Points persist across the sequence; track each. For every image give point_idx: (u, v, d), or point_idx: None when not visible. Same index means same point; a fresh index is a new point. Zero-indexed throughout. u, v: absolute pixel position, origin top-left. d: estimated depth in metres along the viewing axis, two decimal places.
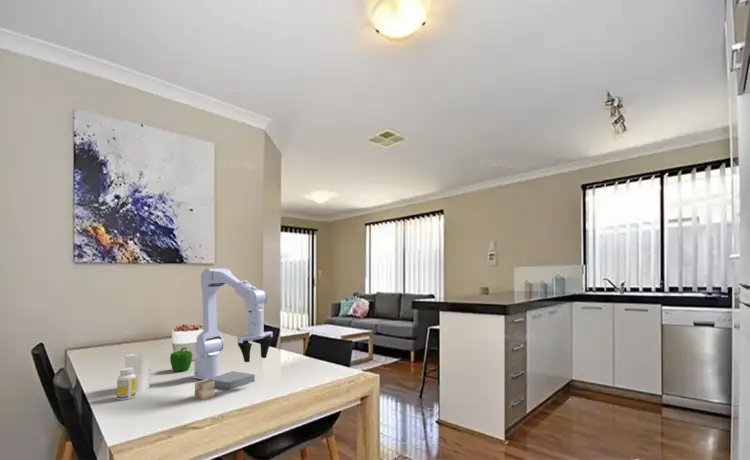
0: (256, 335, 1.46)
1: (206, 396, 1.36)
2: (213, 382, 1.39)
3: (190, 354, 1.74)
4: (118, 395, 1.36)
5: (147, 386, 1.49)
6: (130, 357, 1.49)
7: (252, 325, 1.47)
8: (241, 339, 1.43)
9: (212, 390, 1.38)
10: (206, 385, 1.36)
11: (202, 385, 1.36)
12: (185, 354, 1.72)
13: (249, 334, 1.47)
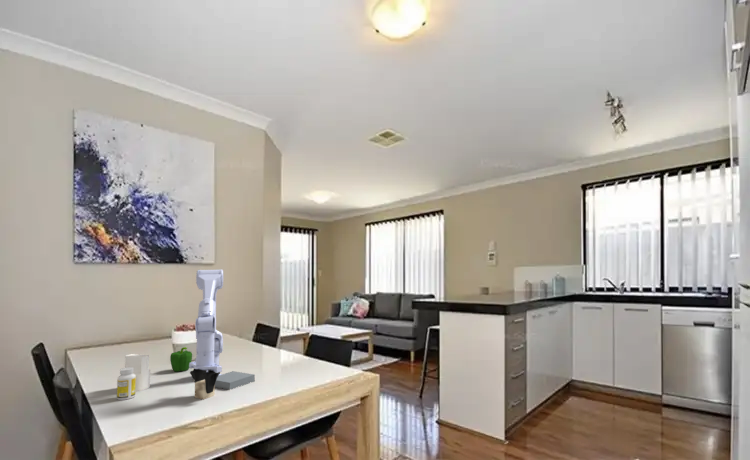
0: (195, 365, 1.37)
1: (206, 396, 1.36)
2: None
3: (190, 354, 1.74)
4: (118, 395, 1.36)
5: (147, 386, 1.49)
6: (130, 357, 1.49)
7: None
8: (189, 364, 1.41)
9: None
10: None
11: (202, 385, 1.36)
12: (185, 354, 1.72)
13: None
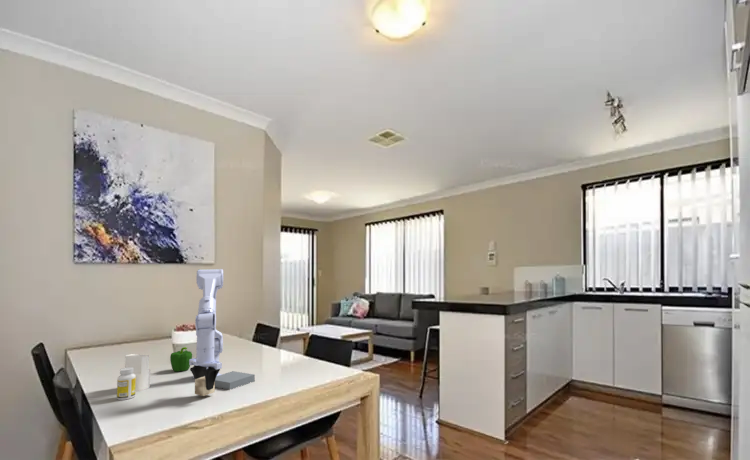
0: (196, 361, 1.38)
1: (206, 392, 1.36)
2: None
3: (190, 354, 1.74)
4: (118, 395, 1.36)
5: (147, 386, 1.49)
6: (130, 357, 1.49)
7: None
8: (189, 361, 1.41)
9: None
10: None
11: (202, 381, 1.36)
12: (185, 354, 1.72)
13: None
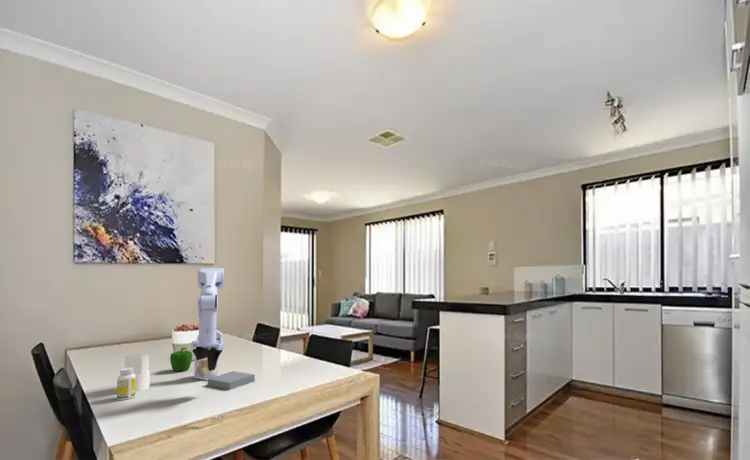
0: (198, 343, 1.39)
1: (208, 373, 1.38)
2: None
3: (190, 354, 1.74)
4: (118, 395, 1.36)
5: (147, 386, 1.49)
6: (130, 357, 1.49)
7: None
8: (192, 343, 1.43)
9: None
10: None
11: (204, 362, 1.37)
12: (185, 354, 1.72)
13: None
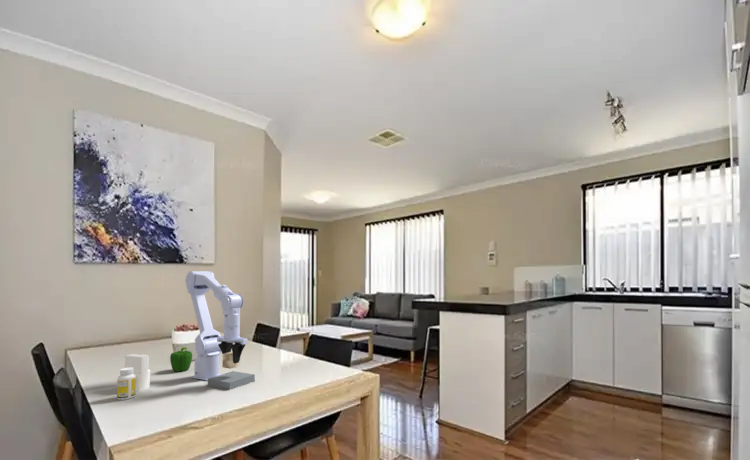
0: (223, 338, 1.53)
1: (233, 366, 1.51)
2: None
3: (190, 354, 1.74)
4: (118, 395, 1.36)
5: (147, 386, 1.49)
6: (130, 357, 1.49)
7: None
8: (217, 338, 1.57)
9: None
10: (232, 355, 1.52)
11: (229, 356, 1.51)
12: (185, 354, 1.72)
13: None
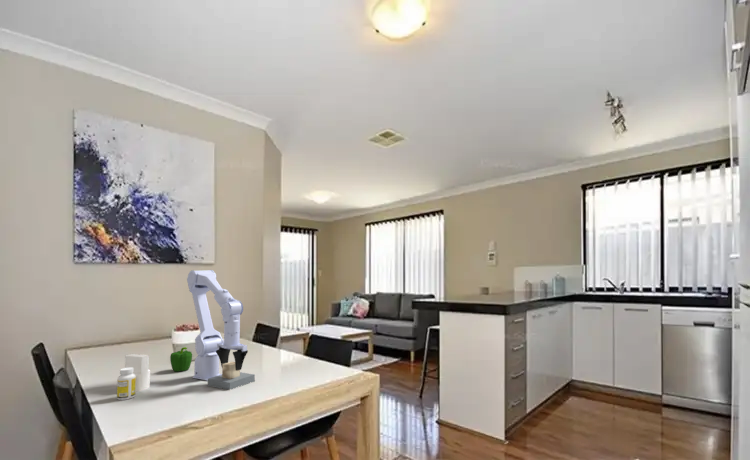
0: (223, 345, 1.53)
1: (233, 376, 1.51)
2: None
3: (190, 354, 1.74)
4: (118, 395, 1.36)
5: (147, 386, 1.49)
6: (130, 357, 1.49)
7: None
8: (217, 345, 1.57)
9: None
10: (232, 365, 1.51)
11: (229, 366, 1.51)
12: (185, 354, 1.72)
13: None
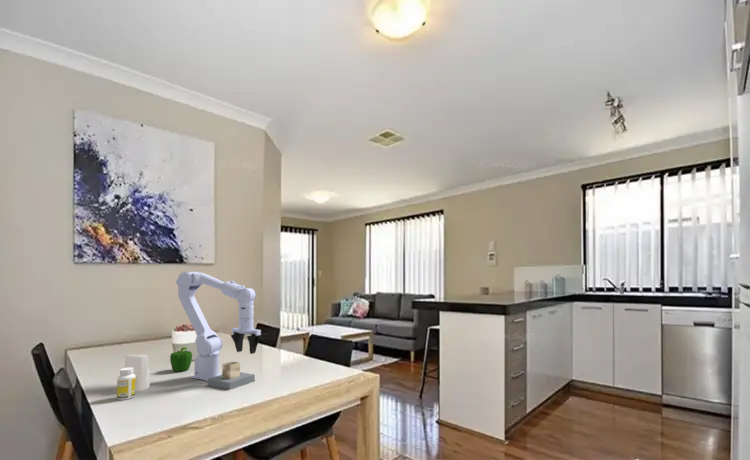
0: (238, 329, 1.60)
1: (233, 376, 1.51)
2: (238, 364, 1.54)
3: (190, 354, 1.74)
4: (118, 395, 1.36)
5: (147, 386, 1.49)
6: (130, 357, 1.49)
7: None
8: (232, 330, 1.64)
9: (237, 370, 1.53)
10: (232, 365, 1.51)
11: (229, 366, 1.51)
12: (185, 354, 1.72)
13: None
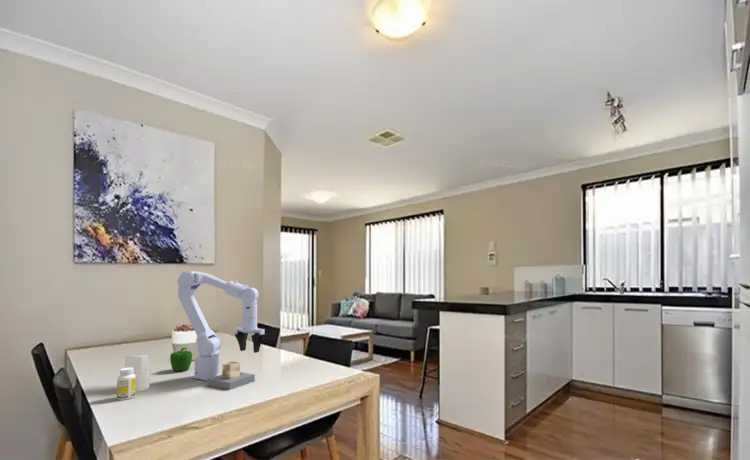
0: (242, 328, 1.62)
1: (233, 376, 1.51)
2: (238, 364, 1.54)
3: (190, 354, 1.74)
4: (118, 395, 1.36)
5: (147, 386, 1.49)
6: (130, 357, 1.49)
7: None
8: (236, 329, 1.66)
9: (237, 370, 1.53)
10: (232, 365, 1.51)
11: (229, 366, 1.51)
12: (185, 354, 1.72)
13: None
